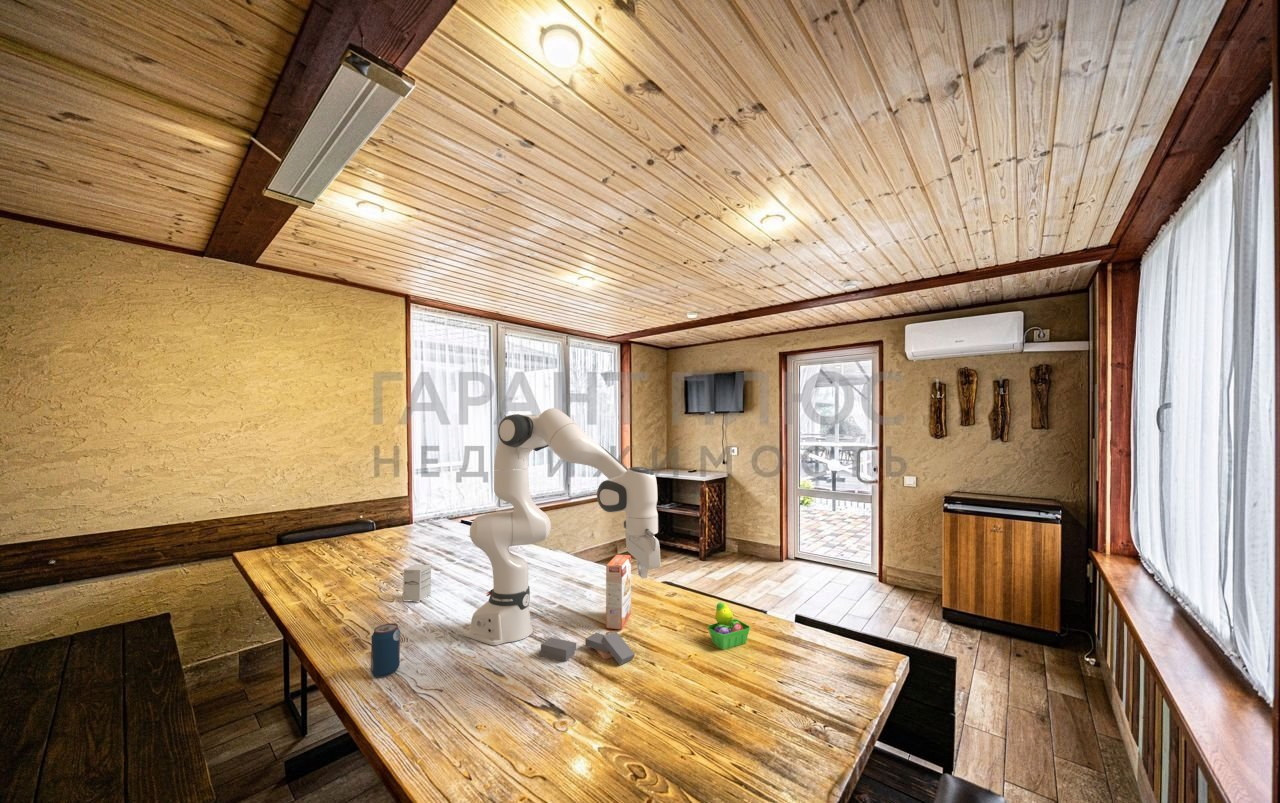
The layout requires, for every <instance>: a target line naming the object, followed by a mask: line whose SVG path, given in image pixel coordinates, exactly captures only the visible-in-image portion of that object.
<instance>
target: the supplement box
mask: <svg viewBox="0 0 1280 803" xmlns="http://www.w3.org/2000/svg"><path fill="white" fill-rule="evenodd" d="M431 578H432V564H419V563H418V564H416V563H414V564H413V565H410V566H408V567H405V568H404V569H403V588H402V591H403V592H402V601H403V600H412V601H420V600H422V599H424V598H426V597H428V596H430V597H431V586H432V584H431V583H432V580H431ZM428 598H429V597H428Z"/></svg>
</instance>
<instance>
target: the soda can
mask: <svg viewBox="0 0 1280 803" xmlns="http://www.w3.org/2000/svg"><path fill="white" fill-rule="evenodd" d="M370 644H371V645H370V646H371V649H370V650H371V652H370V672H371V674H372V676H374V678H378V679H379V678H382V677H383V678H388V677H390V676H392V675H394V674H395V673H396V672H397V670H398V668H399V667H400V662H401V661H400V660H401V659H400V657H401V656H400V655H401V651H400V650H401V647H400V646H401V630H400V628H399V625H398V624H397V623H395V622H394V623H392V622H390V623H385V624H381V625H377V627H375V628H374V630H373V633H372V635H371V642H370Z"/></svg>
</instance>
